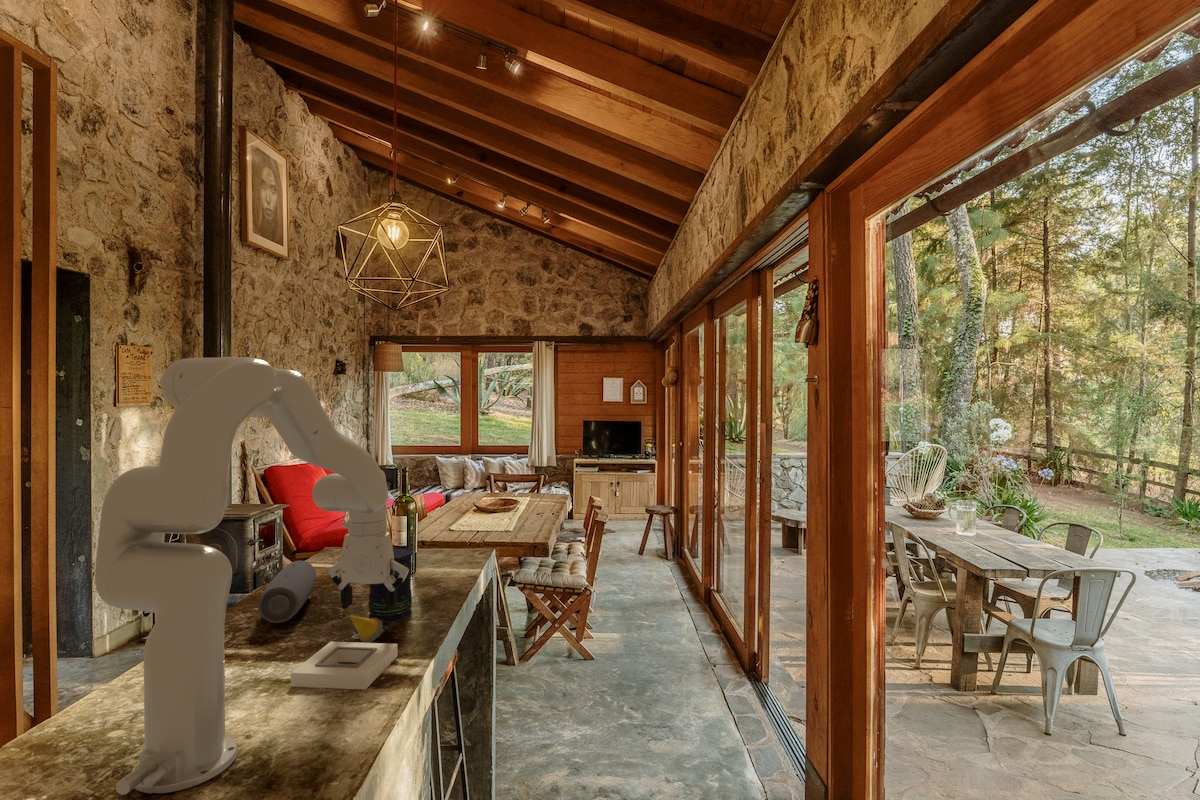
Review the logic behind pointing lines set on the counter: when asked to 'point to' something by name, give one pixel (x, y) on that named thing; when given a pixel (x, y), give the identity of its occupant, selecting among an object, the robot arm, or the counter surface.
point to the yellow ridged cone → (367, 628)
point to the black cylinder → (403, 593)
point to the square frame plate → (344, 665)
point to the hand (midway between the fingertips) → (369, 607)
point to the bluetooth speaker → (287, 592)
